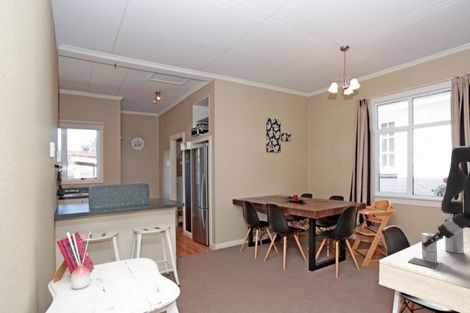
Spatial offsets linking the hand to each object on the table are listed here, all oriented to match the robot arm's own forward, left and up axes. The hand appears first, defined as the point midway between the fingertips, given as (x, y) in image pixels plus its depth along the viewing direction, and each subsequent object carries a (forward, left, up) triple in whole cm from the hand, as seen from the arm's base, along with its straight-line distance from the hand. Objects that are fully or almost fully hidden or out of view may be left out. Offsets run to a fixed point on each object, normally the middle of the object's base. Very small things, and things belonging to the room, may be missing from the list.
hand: (426, 244), depth 161 cm
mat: (+11, +1, -8) cm, 14 cm away
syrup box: (0, +1, -8) cm, 9 cm away
